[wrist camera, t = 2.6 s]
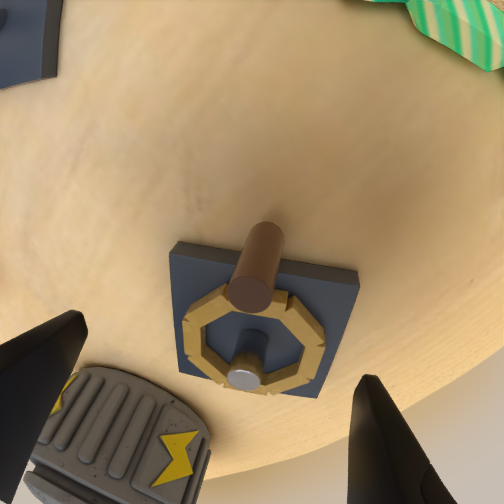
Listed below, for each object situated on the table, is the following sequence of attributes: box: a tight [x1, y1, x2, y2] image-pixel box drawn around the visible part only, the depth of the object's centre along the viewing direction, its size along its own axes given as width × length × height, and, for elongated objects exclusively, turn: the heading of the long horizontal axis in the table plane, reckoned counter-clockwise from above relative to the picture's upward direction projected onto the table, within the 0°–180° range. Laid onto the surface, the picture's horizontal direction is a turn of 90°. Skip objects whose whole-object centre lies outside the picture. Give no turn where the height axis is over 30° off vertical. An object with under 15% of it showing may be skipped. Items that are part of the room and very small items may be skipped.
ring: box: [182, 222, 326, 396], centre depth 17 cm, size 13×9×5 cm
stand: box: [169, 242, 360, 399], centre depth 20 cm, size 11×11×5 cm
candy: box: [366, 0, 504, 72], centre depth 9 cm, size 12×3×4 cm
